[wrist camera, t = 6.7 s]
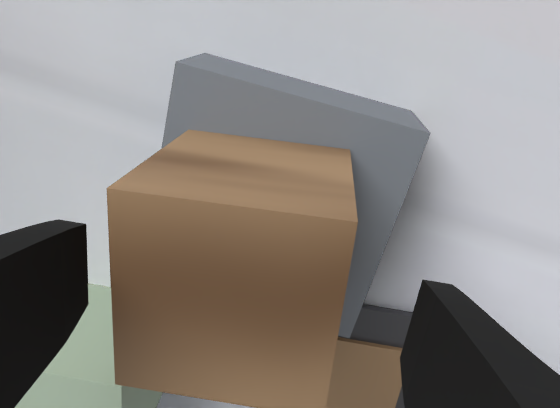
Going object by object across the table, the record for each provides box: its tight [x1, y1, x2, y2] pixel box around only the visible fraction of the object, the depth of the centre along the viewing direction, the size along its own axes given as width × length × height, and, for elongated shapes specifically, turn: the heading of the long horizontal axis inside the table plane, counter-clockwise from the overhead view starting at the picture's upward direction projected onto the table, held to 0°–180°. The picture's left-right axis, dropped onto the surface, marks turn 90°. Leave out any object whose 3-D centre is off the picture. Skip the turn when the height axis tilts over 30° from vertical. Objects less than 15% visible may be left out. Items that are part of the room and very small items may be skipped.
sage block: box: [15, 283, 163, 408], centre depth 18 cm, size 4×4×5 cm
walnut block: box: [107, 130, 358, 408], centre depth 11 cm, size 4×4×5 cm
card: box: [325, 304, 413, 408], centre depth 19 cm, size 7×7×1 cm
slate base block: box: [162, 53, 430, 338], centre depth 15 cm, size 7×7×4 cm
